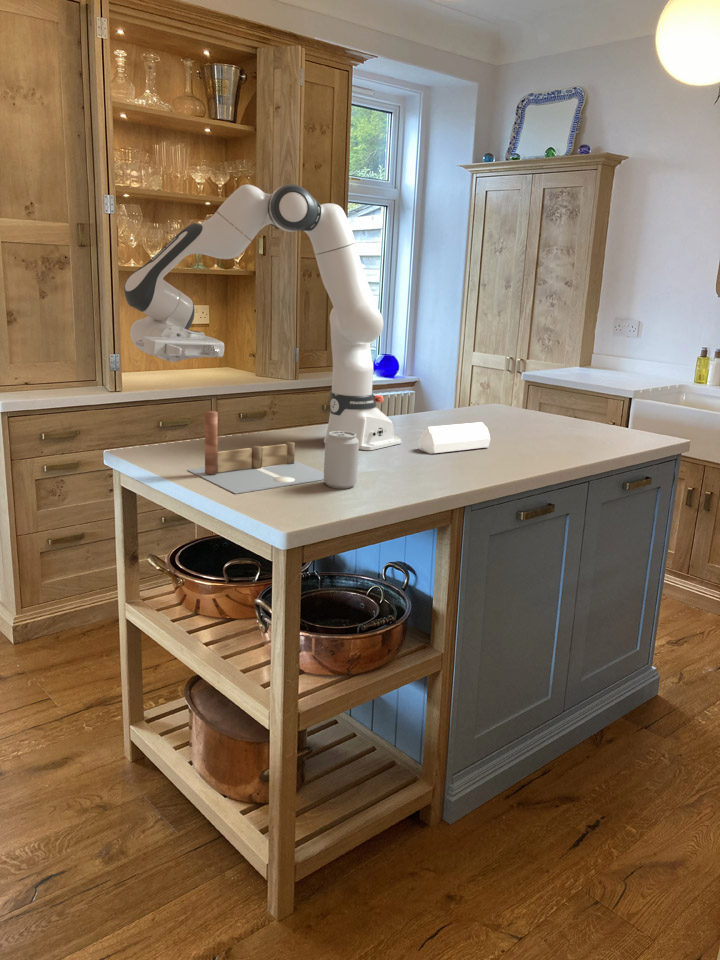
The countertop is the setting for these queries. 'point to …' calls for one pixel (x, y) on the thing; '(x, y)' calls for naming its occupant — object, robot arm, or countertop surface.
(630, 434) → the countertop surface
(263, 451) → the fixed rail
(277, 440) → the countertop surface
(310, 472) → the card
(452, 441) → the white chamfered prism
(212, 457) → the rail
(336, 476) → the can
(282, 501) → the countertop surface
